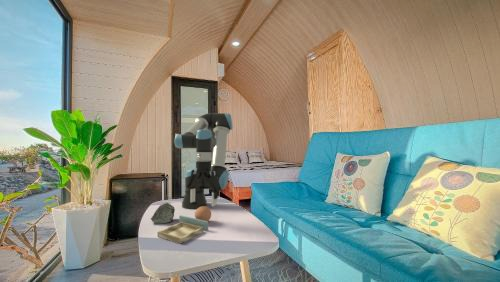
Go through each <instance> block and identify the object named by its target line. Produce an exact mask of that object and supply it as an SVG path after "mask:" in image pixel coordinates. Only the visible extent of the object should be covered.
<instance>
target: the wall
mask: <svg viewBox="0 0 500 282" xmlns="http://www.w3.org/2000/svg"><path fill="white" fill-rule="evenodd" d="M178 220H179V222H178V223H180V222H184V223H188V224H192V225H196V226H200V227H204V228H203V232H204V231H205V232H207V231H209V221H204V220H199V219H196V218H195V217H190V216H187V215H182V214H181V215H179V217H178Z"/></svg>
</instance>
